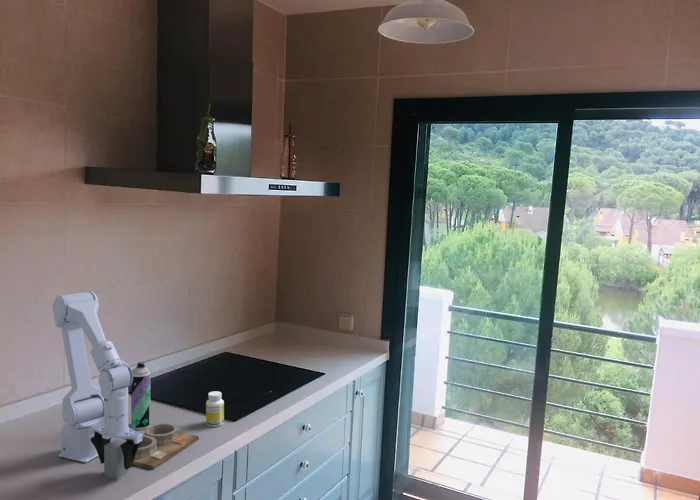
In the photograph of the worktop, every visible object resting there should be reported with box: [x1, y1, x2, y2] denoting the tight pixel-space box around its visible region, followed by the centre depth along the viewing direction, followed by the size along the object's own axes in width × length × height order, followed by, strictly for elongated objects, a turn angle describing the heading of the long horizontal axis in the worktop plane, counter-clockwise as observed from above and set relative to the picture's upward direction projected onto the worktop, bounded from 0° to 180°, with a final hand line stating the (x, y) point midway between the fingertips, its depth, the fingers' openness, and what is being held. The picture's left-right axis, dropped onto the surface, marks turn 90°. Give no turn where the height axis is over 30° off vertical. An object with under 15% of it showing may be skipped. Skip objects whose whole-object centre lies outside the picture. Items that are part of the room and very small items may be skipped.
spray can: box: [130, 361, 151, 431], centre depth 176 cm, size 6×6×20 cm
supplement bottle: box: [205, 390, 225, 428], centre depth 181 cm, size 5×5×10 cm
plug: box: [103, 438, 129, 480], centre depth 148 cm, size 4×4×8 cm
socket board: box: [123, 422, 200, 470], centre depth 163 cm, size 14×20×4 cm
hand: (116, 464), depth 148 cm, fingers open, 7 cm apart
